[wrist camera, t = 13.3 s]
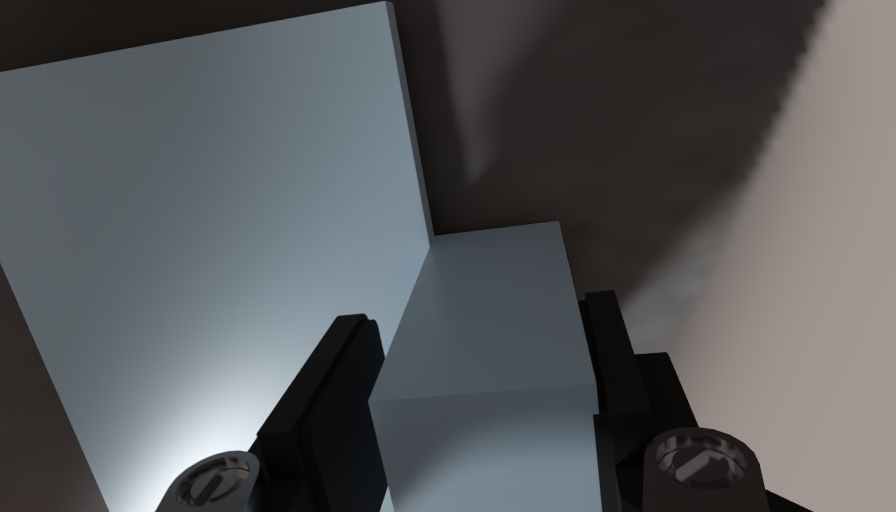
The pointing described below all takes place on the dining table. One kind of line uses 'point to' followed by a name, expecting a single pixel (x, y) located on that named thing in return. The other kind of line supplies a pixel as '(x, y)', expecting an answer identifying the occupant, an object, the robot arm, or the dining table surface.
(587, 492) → the lid
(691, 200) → the dining table surface
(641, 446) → the robot arm
